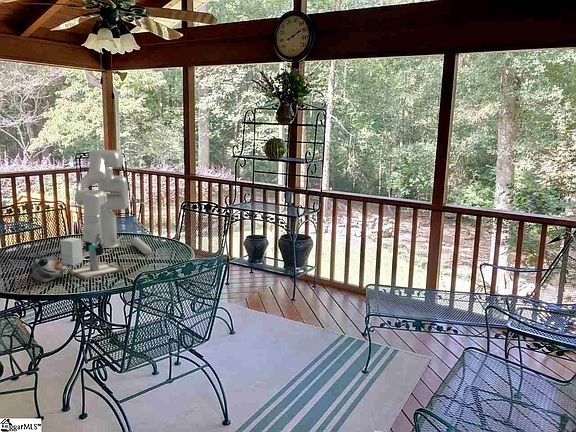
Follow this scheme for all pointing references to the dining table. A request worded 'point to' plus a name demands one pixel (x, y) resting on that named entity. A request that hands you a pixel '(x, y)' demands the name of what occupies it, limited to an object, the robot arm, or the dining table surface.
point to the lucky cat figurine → (46, 269)
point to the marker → (93, 258)
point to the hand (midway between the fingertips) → (93, 252)
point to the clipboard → (103, 270)
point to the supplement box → (71, 251)
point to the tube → (141, 246)
